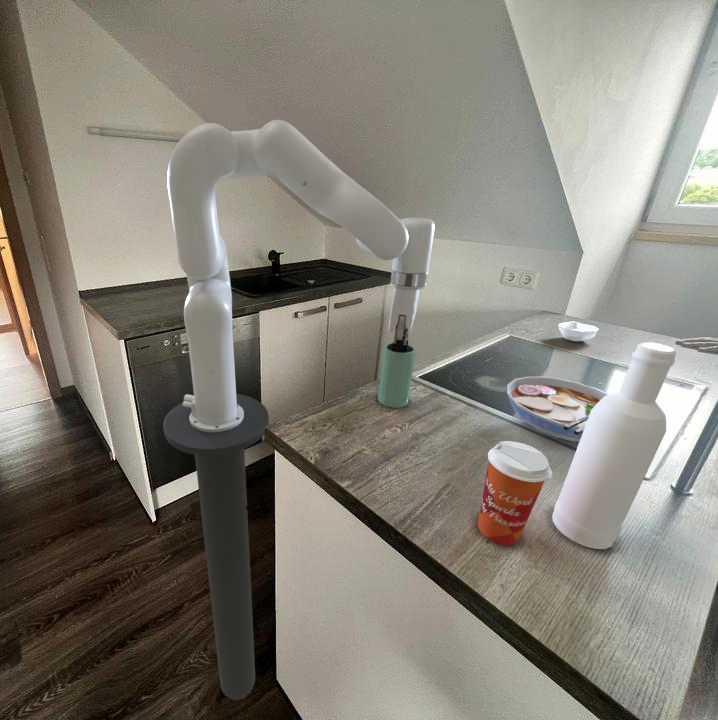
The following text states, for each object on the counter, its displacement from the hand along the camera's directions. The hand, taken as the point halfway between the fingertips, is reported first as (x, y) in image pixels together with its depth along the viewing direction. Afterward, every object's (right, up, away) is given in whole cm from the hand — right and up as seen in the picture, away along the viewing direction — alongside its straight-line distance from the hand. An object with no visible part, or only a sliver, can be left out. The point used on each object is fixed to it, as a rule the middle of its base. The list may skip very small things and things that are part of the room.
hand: (398, 356), depth 91 cm
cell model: (+74, +6, +45) cm, 87 cm away
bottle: (+19, -27, -31) cm, 45 cm away
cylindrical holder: (0, -11, +5) cm, 12 cm away
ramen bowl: (+33, -16, -7) cm, 37 cm away
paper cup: (+6, -27, -32) cm, 42 cm away
